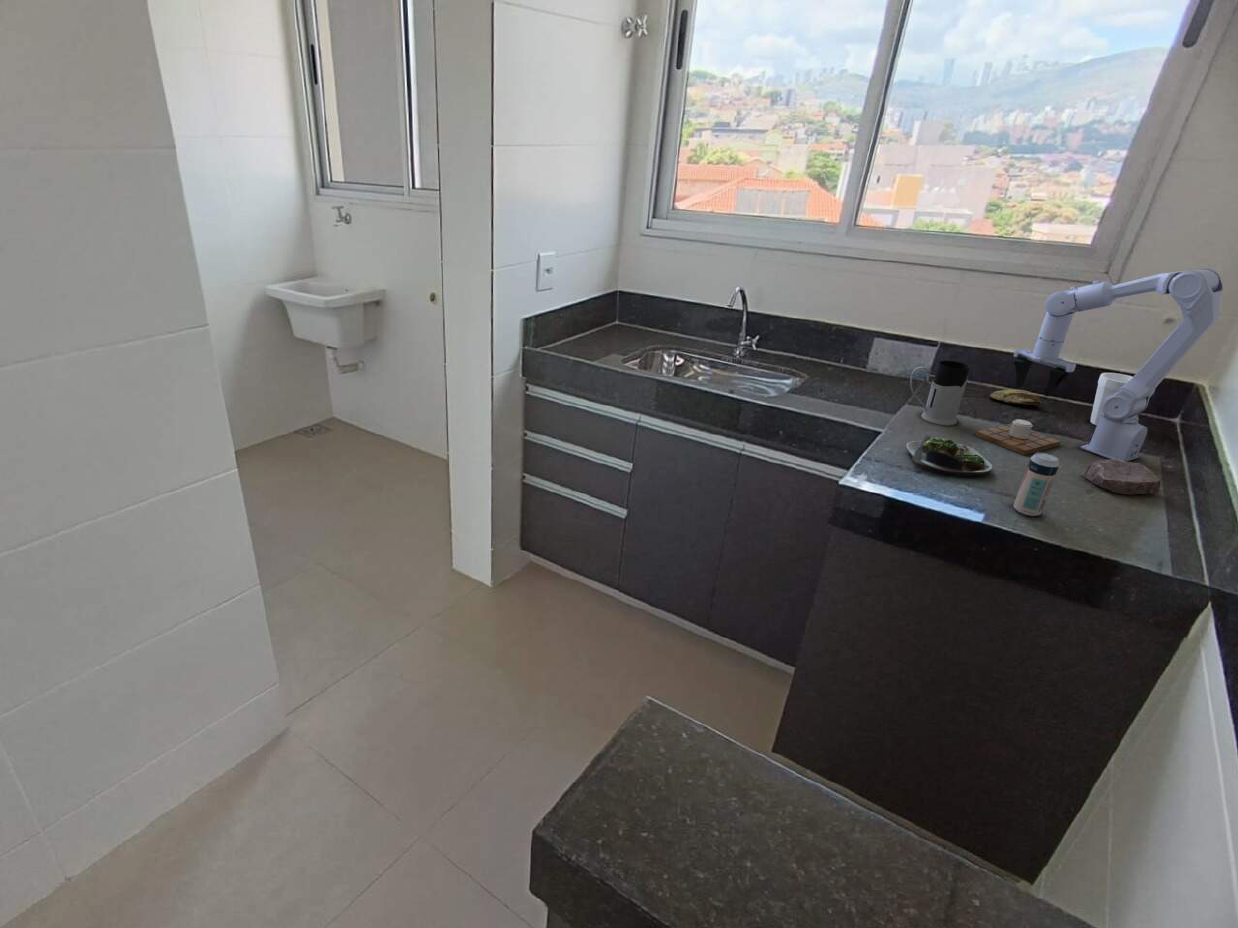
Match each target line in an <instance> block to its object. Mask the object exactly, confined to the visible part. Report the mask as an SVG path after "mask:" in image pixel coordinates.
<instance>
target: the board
mask: <svg viewBox="0 0 1238 928" xmlns="http://www.w3.org/2000/svg"><path fill="white" fill-rule="evenodd" d="M1011 425H1012V422H1011V423H1007V424H1002V425H998V426H994V427H990V428H984V429H982V430H977V432H976V437H978V438H981V439H984V440H986V441H988V442H991V443H994V444H996V445H998V446H1001V447H1003V448H1005V449H1008V450H1011V451H1013V452H1016V453H1018V454H1020V455H1023V456H1026V455H1029V454H1033V453H1038V452H1041V451H1045V450H1048V449H1051V448H1056V447H1058V446H1060V443H1061V440H1058V439H1055V438H1053V437H1050V436H1048V435H1045V434H1043V433H1040V432H1038V431H1034V430H1032V429H1031V432H1030V435H1029V438H1028V439H1020V438H1015V437H1013V436H1011V435H1009V431H1010V428H1011Z"/></svg>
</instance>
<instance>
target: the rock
mask: <svg viewBox="0 0 1238 928" xmlns="http://www.w3.org/2000/svg"><path fill="white" fill-rule="evenodd" d="M989 397H990V398H991V399H993V400H997V401H999V402H1003V403H1006V404H1013V405H1022V406H1023V405H1025V406H1041V405H1042V402H1041V400H1040V396H1039V394H1037V393H1032V392H1031V391H1027V390H1024V389H1002V390H997V391H993V392H992V393H990V395H989Z"/></svg>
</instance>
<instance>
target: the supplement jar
mask: <svg viewBox="0 0 1238 928" xmlns="http://www.w3.org/2000/svg"><path fill="white" fill-rule="evenodd" d="M1059 467H1060V461H1059V458H1058V457H1057V456H1056V455H1053V454H1051V453H1046V452H1035V453H1034V454H1033V455H1032V456H1031V457H1030V459H1029V461H1028V464H1027V466H1026V470H1025V472H1024V475H1023V478H1022V481H1021V482H1020V483H1021V484H1020V486H1019V490H1018V492H1017V495H1016V498H1015V501H1014V503H1013V508H1014V510H1016V511H1017V512H1018V513H1019V514H1022V515H1024V516H1028V517H1034V516H1040V515H1041V514H1042V511H1043V509H1044V506H1045V503H1046V501H1047V499H1048V497H1049V493H1050V490H1051V488H1052V485H1053V483H1054V480H1055V478H1056V475H1057V472H1058V469H1059Z"/></svg>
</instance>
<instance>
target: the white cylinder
mask: <svg viewBox="0 0 1238 928" xmlns="http://www.w3.org/2000/svg"><path fill="white" fill-rule="evenodd" d="M1011 423H1012V425H1011V428H1010V431H1009V435H1011V436H1013V437H1015V438H1020V439H1028V438H1029V435H1030V432H1031V430H1032V429H1033V426H1034V425H1033V424H1032V422H1031V421H1028V420H1025V419H1020V418H1019V419H1018V418H1017V419H1015V420H1013V421H1011Z"/></svg>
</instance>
